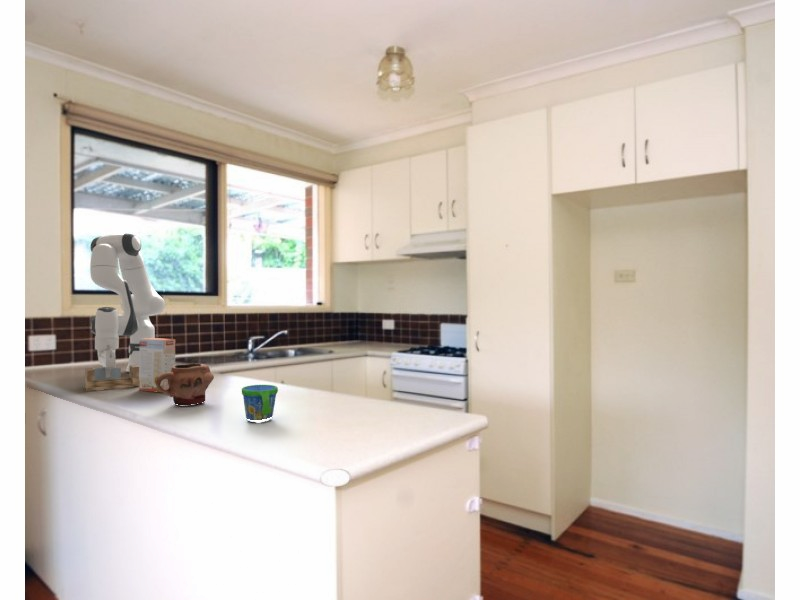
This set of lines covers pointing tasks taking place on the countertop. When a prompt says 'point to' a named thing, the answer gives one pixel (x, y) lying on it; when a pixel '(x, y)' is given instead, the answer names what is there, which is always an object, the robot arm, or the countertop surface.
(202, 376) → the brown mug
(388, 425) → the countertop surface
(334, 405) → the countertop surface
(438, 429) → the countertop surface
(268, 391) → the snack cup
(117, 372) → the door panel
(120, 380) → the track frame
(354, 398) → the countertop surface
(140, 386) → the cracker box
